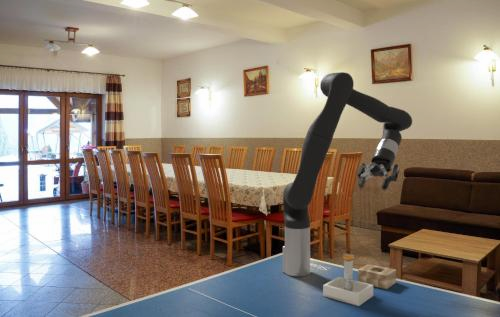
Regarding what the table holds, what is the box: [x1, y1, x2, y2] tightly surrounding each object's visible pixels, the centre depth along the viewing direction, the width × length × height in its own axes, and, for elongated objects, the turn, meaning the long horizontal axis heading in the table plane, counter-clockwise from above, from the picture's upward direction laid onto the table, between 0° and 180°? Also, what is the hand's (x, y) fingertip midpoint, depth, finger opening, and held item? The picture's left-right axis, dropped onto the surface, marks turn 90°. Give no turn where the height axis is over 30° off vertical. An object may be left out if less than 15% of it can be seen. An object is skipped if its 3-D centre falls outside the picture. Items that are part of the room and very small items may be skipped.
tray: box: [322, 276, 374, 307], centre depth 130 cm, size 12×10×4 cm
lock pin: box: [342, 253, 355, 292], centre depth 130 cm, size 3×3×12 cm
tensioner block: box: [357, 263, 397, 290], centre depth 142 cm, size 10×8×4 cm
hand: (371, 187), depth 147 cm, fingers open, 8 cm apart
